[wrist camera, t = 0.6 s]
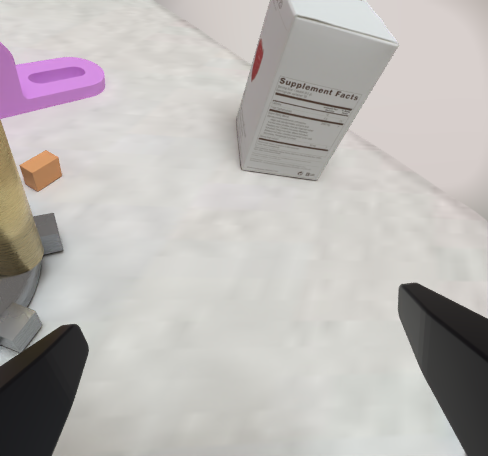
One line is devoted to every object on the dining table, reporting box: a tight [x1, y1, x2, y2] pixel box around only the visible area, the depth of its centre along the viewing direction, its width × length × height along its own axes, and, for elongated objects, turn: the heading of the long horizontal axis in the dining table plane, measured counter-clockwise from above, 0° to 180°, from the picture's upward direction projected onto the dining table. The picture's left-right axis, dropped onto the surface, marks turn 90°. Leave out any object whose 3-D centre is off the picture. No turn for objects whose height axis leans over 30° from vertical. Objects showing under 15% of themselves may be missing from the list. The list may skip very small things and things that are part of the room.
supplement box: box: [236, 0, 399, 180], centre depth 32 cm, size 9×9×15 cm
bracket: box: [0, 42, 105, 119], centre depth 31 cm, size 13×6×7 cm, turn 137°
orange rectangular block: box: [20, 150, 62, 191], centre depth 26 cm, size 2×1×2 cm, turn 153°
